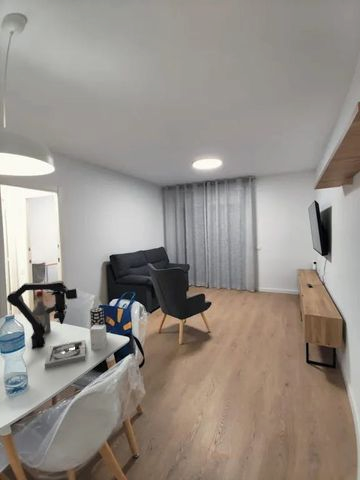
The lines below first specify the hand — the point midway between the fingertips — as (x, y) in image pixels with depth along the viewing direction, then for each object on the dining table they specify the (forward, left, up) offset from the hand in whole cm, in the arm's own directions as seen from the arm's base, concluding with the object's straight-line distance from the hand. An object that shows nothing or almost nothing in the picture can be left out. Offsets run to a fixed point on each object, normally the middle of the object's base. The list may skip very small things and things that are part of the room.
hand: (61, 323), depth 157 cm
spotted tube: (+22, -6, -12) cm, 26 cm away
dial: (+4, -20, -10) cm, 23 cm away
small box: (+22, -17, -12) cm, 30 cm away
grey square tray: (+4, -20, -12) cm, 24 cm away
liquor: (-15, +21, -12) cm, 29 cm away
